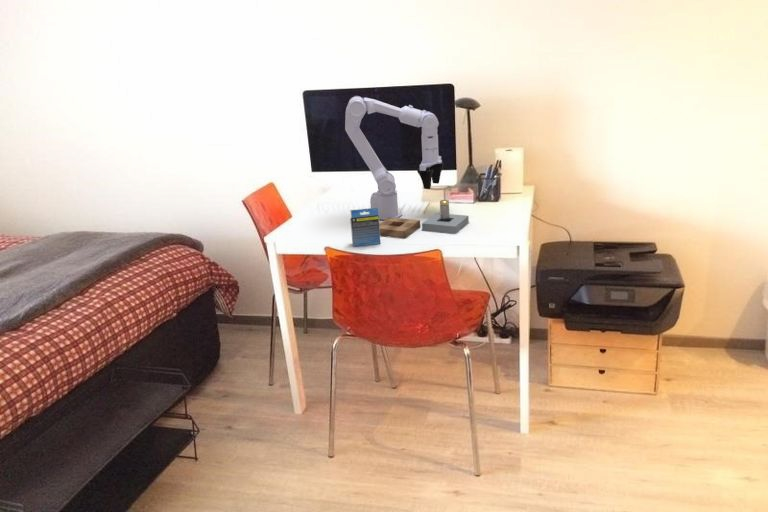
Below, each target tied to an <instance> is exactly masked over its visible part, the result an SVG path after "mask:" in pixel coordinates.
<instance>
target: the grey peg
mask: <svg viewBox="0 0 768 512" xmlns="http://www.w3.org/2000/svg"><path fill="white" fill-rule="evenodd" d="M439 213H440V219H441V221H443V222H449V214H450V200H448V199H441V200H439Z"/></svg>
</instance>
